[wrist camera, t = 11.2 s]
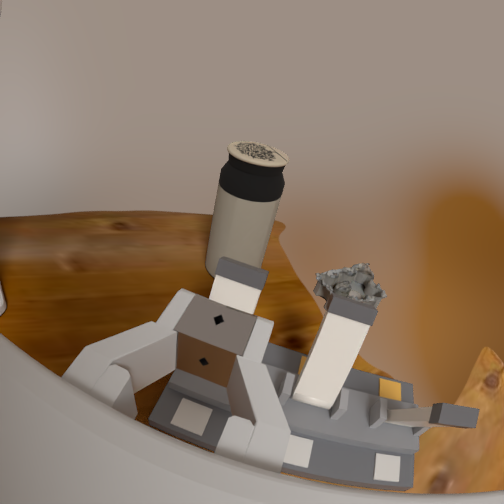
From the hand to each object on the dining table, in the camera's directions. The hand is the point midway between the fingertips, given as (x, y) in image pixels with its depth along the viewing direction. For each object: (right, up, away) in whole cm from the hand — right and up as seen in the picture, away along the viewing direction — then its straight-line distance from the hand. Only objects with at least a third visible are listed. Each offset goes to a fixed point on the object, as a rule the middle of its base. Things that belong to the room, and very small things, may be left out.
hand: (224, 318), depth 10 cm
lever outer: (+16, -15, +17) cm, 28 cm away
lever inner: (-3, -9, +19) cm, 21 cm away
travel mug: (-2, 0, +37) cm, 38 cm away
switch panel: (+6, -15, +20) cm, 26 cm away
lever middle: (+7, -12, +18) cm, 22 cm away
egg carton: (+15, -5, +38) cm, 41 cm away
